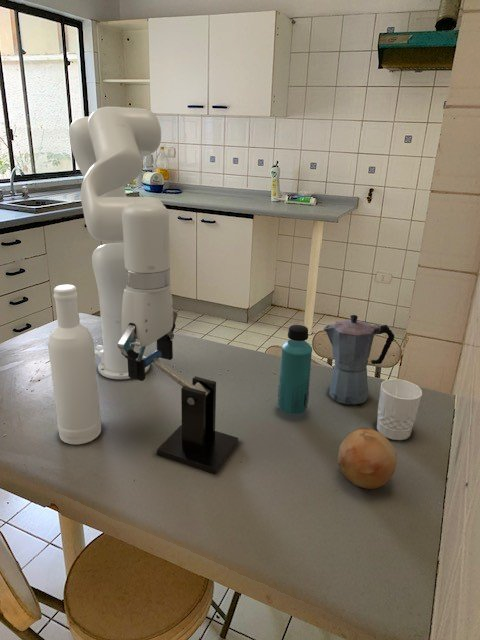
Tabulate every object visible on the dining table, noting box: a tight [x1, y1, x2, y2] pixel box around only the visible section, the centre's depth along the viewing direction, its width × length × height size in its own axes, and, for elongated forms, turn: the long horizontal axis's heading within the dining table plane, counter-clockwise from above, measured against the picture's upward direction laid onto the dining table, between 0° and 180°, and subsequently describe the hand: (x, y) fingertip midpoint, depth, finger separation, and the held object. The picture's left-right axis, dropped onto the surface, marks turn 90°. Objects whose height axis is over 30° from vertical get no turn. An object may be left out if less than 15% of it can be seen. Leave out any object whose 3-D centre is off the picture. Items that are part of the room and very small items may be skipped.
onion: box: [337, 426, 398, 490], centre depth 79 cm, size 10×10×10 cm
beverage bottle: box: [277, 324, 313, 415], centre depth 97 cm, size 6×7×20 cm
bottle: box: [47, 283, 102, 445], centre depth 85 cm, size 8×8×30 cm
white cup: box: [376, 378, 423, 441], centre depth 93 cm, size 8×8×10 cm
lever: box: [143, 349, 210, 398], centre depth 84 cm, size 13×5×2 cm, turn 67°
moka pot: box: [322, 314, 395, 405], centre depth 104 cm, size 10×15×20 cm, turn 88°
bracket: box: [156, 376, 239, 475], centre depth 85 cm, size 12×10×14 cm
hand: (151, 367), depth 86 cm, fingers open, 8 cm apart
